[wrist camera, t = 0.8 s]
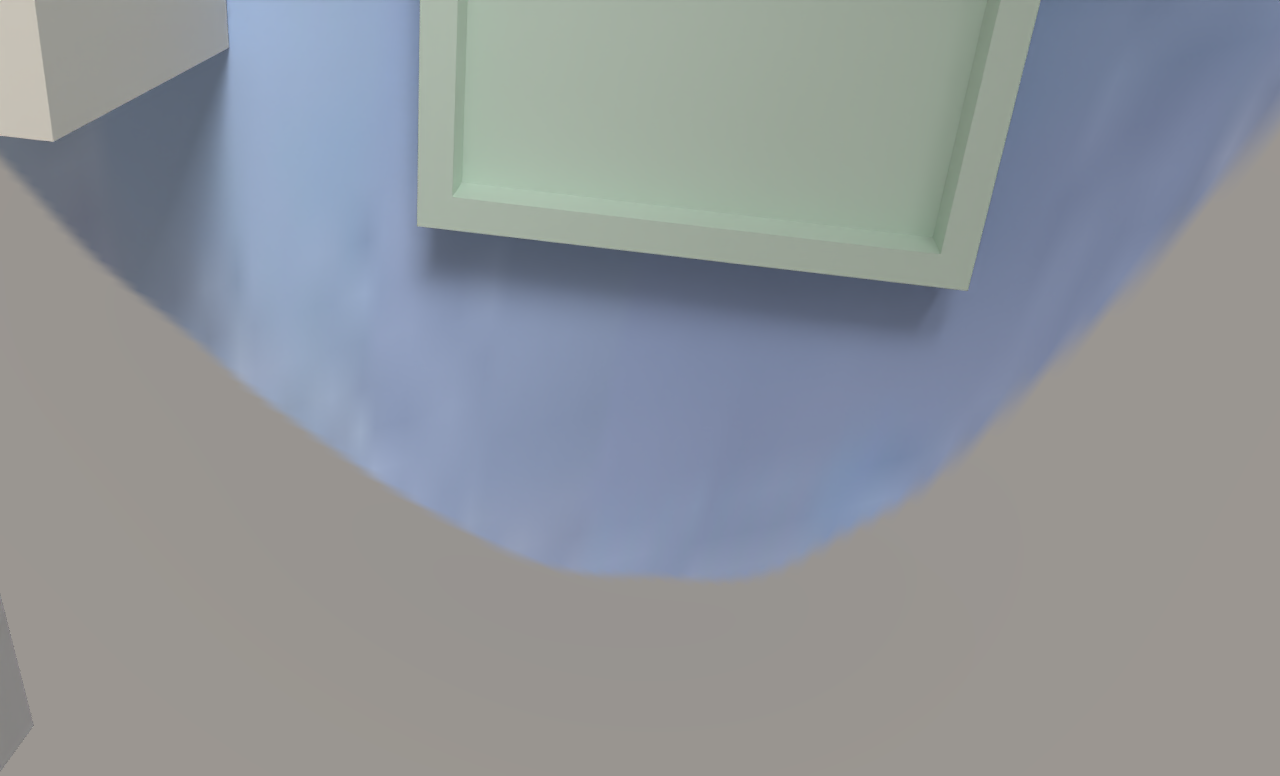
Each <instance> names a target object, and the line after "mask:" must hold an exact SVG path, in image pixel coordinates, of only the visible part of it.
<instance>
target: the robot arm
mask: <svg viewBox="0 0 1280 776" xmlns="http://www.w3.org/2000/svg"><path fill="white" fill-rule="evenodd" d="M33 726H34V725H33V721H32V717H31V713H30V709H29V705H28V701H27V698H26V693H25V689H24V685H23V681H22V678H21V674H20V670H19V666H18V662H17V658H16V654H15V650H14V646H13V643H12V639H11V634H10V630H9V627H8V623H7V619H6V615H5V612H4V607H3V603H2V599H1V595H0V771H1V770H2V769H3V767H4V766H5V764H6V763H7V762H8V760H9V759H10V757H11V756H12V755H13V753H14V752H15V750H16V749H17V748H18V747H19V745H20V744H21V742H22V741H23V740H24V738H25V737H26V735H27V734H28V733H29V731H30V730H31V729H32V727H33Z"/></svg>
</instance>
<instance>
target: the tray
mask: <svg viewBox="0 0 1280 776" xmlns="http://www.w3.org/2000/svg"><path fill="white" fill-rule="evenodd" d="M1040 1H1041V0H420V39H419V116H418V192H417V226H420V227H429V228H437V229H446V230H454V231H463V232H471V233H480V234H488V235H497V236H505V237H514V238H522V239H531V240H539V241H548V242H556V243H565V244H573V245H582V246H590V247H599V248H607V249H616V250H624V251H633V252H641V253H650V254H658V255H667V256H675V257H684V258H692V259H701V260H709V261H718V262H726V263H735V264H743V265H752V266H760V267H769V268H777V269H786V270H794V271H803V272H811V273H820V274H828V275H837V276H845V277H854V278H862V279H871V280H879V281H888V282H896V283H905V284H913V285H922V286H930V287H939V288H947V289H956V290H964V291H968V288H969V284H970V280H971V276H972V272H973V268H974V264H975V260H976V256H977V252H978V248H979V244H980V240H981V236H982V232H983V228H984V224H985V220H986V216H987V212H988V208H989V204H990V200H991V196H992V192H993V188H994V184H995V180H996V176H997V172H998V168H999V164H1000V160H1001V156H1002V152H1003V148H1004V144H1005V140H1006V136H1007V132H1008V128H1009V124H1010V120H1011V116H1012V112H1013V108H1014V104H1015V100H1016V96H1017V92H1018V88H1019V85H1020V81H1021V77H1022V73H1023V69H1024V65H1025V61H1026V57H1027V53H1028V49H1029V45H1030V41H1031V37H1032V33H1033V29H1034V25H1035V21H1036V17H1037V13H1038V9H1039V5H1040Z"/></svg>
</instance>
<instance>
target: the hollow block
mask: <svg viewBox="0 0 1280 776" xmlns="http://www.w3.org/2000/svg"><path fill="white" fill-rule="evenodd" d="M228 48H229V41H228V24H227V8H226V0H0V136H8V137H16V138H25V139H33V140H42V141H50V142H54V141H56V140H58V139H60V138H62V137H64V136H65V135H67V134H69V133H71V132H73V131H75V130H77V129H78V128H80V127H82V126H84V125H86V124H88V123H90V122H92V121H93V120H95V119H97V118H99V117H101V116H103V115H105V114H106V113H108V112H110V111H112V110H114V109H116V108H118V107H119V106H121V105H123V104H125V103H127V102H129V101H131V100H133V99H134V98H136V97H138V96H140V95H142V94H144V93H146V92H147V91H149V90H151V89H153V88H155V87H157V86H159V85H161V84H162V83H164V82H166V81H168V80H170V79H172V78H174V77H175V76H177V75H179V74H181V73H183V72H185V71H187V70H188V69H190V68H192V67H194V66H196V65H198V64H200V63H202V62H203V61H205V60H207V59H209V58H211V57H213V56H215V55H216V54H218V53H220V52H222V51H224V50H226V49H228Z"/></svg>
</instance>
